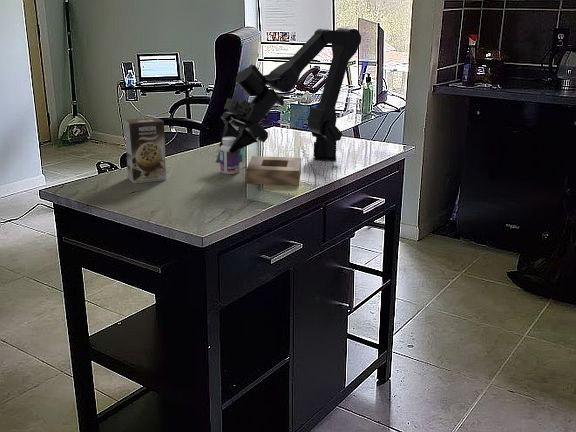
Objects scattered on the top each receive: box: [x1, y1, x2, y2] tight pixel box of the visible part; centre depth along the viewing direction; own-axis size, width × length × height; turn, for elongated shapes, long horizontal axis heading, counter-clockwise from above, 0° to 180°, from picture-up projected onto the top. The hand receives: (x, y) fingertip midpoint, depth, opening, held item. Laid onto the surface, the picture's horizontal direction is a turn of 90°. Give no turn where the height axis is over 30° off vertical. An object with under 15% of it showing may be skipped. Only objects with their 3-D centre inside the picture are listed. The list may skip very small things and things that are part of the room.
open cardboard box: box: [245, 155, 302, 186], centre depth 175 cm, size 14×14×4 cm
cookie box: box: [124, 117, 167, 184], centre depth 169 cm, size 9×6×16 cm
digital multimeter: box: [217, 147, 245, 162], centre depth 198 cm, size 7×15×3 cm, turn 2°
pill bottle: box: [219, 136, 240, 175], centre depth 179 cm, size 5×5×10 cm
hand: (225, 149), depth 178 cm, fingers open, 6 cm apart
